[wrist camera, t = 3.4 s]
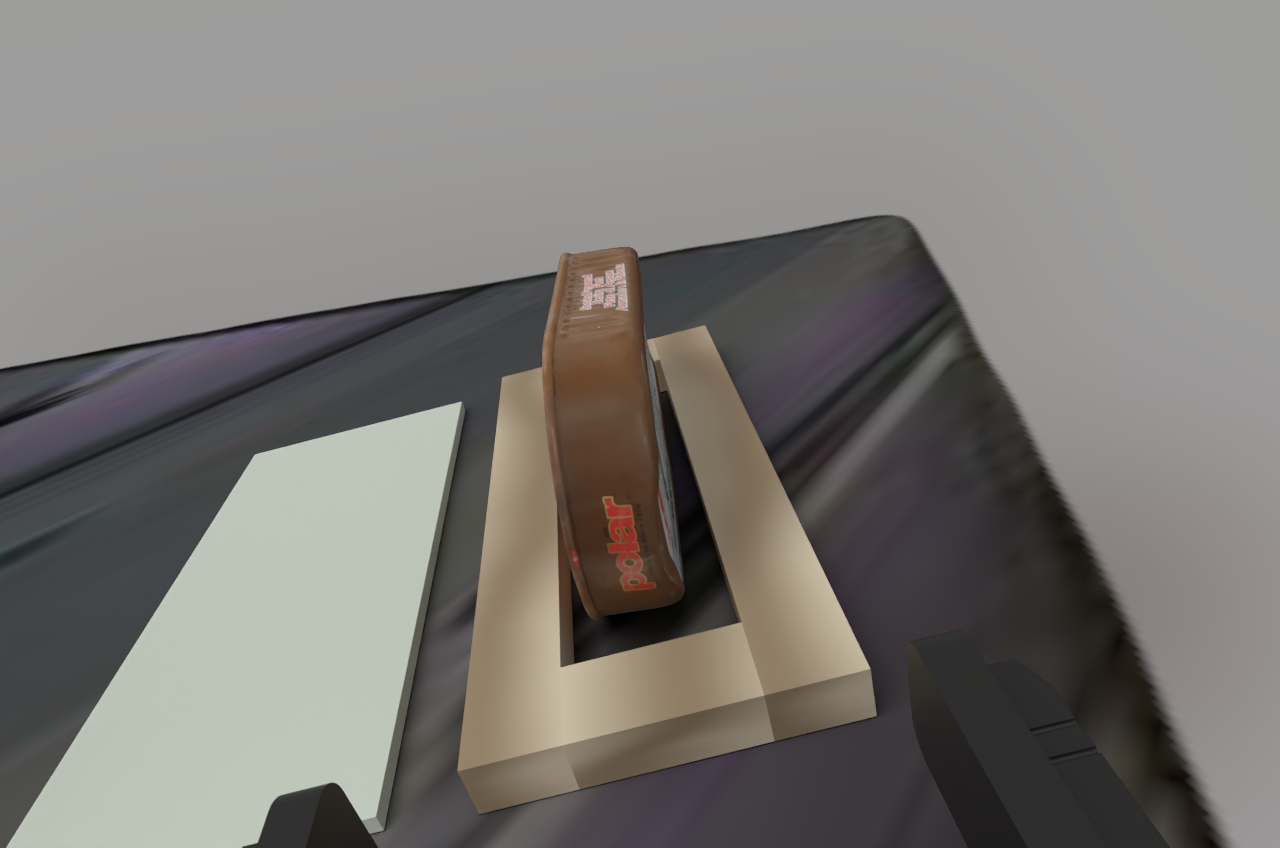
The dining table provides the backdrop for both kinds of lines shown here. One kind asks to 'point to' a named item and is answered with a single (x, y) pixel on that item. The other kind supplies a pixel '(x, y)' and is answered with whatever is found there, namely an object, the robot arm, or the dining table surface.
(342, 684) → the mat
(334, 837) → the robot arm
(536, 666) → the slot holder
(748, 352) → the dining table surface
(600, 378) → the tin
